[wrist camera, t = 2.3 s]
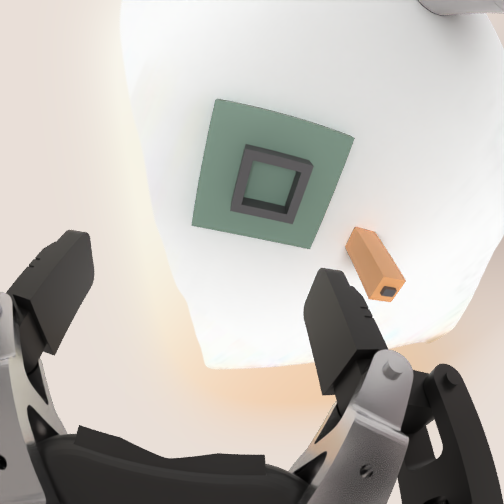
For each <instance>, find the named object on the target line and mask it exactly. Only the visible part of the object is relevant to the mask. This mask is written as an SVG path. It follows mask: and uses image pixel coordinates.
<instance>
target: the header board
mask: <svg viewBox="0 0 504 504" xmlns="http://www.w3.org/2000/svg"><path fill="white" fill-rule="evenodd" d="M353 141H354V138H353V137H352V136H350V135H347V134H345V133H342V132H339V131H336V130H333V129H331V128H328V127H325V126H322V125H319V124H316V123H313V122H309V121H306V120H303V119H300V118H296V117H293V116H289V115H286V114H282V113H278V112H275V111H271V110H267V109H263V108H259V107H255V106H250V105H246V104H241V103H236V102H231V101H226V100H221V99H216V100H215V104H214V109H213V113H212V118H211V122H210V127H209V131H208V136H207V141H206V146H205V151H204V156H203V161H202V166H201V172H200V177H199V183H198V189H197V194H196V200H195V206H194V213H193V219H192V226H196V227H202V228H207V229H212V230H217V231H222V232H227V233H233V234H238V235H243V236H248V237H253V238H258V239H263V240H268V241H273V242H278V243H282V244H287V245H292V246H297V247H302V248H307V249H310V247H311V245H312V243H313V241H314V238H315V236H316V234H317V231H318V229H319V227H320V224H321V222H322V220H323V217H324V215H325V212H326V210H327V208H328V205H329V203H330V200H331V198H332V195H333V193H334V190H335V188H336V185H337V183H338V180H339V178H340V175H341V173H342V170H343V168H344V165H345V162H346V160H347V157H348V154H349V152H350V149H351V146H352V144H353Z"/></svg>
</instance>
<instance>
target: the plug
mask: <svg viewBox="0 0 504 504" xmlns="http://www.w3.org/2000/svg"><path fill="white" fill-rule="evenodd" d="M345 248H346V250H347V252H348V254H349V256H350V258H351V260H352V262H353V265H354V267H355V269H356V271H357V273H358V275H359V278H360V280H361V282H362V284H363V287H364V289H365V291H366V293H367V296H368V298H369V299H372V300H379V301H387V302H391V301H392V300H393V299H394V297H395V296H396V294H397V293H398V292H399V290H400V289H401V287H402V286H403V284H404V283H405V281H406V280H405V279H404V277H403V275H402V274H401V272H400V270H399V269H398V267H397V265H396V264H395V262H394V261H393V259H392V257H391V256H390V254H389V253H388V251H387V249H386V248H385V246H384V245H383V243H382V242H381V240H380V239H379V237H378V236H377V234H376V233H375V232H373V231H369V230H366V229H362V228H358V227H355V228H354V230H353V232H352V234H351V236H350V238H349V240H348V242H347V244H346V246H345Z"/></svg>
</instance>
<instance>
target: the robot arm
mask: <svg viewBox="0 0 504 504" xmlns="http://www.w3.org/2000/svg"><path fill="white" fill-rule="evenodd" d="M418 1H419V2H420V3H421V4H422V5H423V6H424V7H426V8H427V9H428V10H430V11H432V12H433V13H436V14H438V15H443V16H444V15H455V14H471V13H504V0H418ZM93 280H94V265H93V259H92V250H91V242H90V236H89V234H88V233H86V232H80V231H74V230H68V231H66V232H65V233H64V234H63V235H62V236H61V237H60V239H58V241H57V242H54V243H52V244H50V245H49V246H47V247H46V248H44V249H43V250H42V251H41V252H40V253H39V254H38V255H37V257H36V259H34V260H33V261H32V262H31V263H30V264H29V267H27V268H26V269H25V270H24V271H23V273H22V274H21V275H20V276H19V277H18V278H17V280H16V281H15V282H14V283H13V285H12V286H11V287H10V288H9V290H8V291H7V293H3V292H0V504H386V503H387V501H388V499H389V497H390V494H391V492H392V489H393V487H394V484H395V482H396V479H397V477H398V482H399V488H400V493H401V499H402V504H503V499H502V494H501V489H500V484H499V480H498V476H497V472H496V468H495V465H494V461H493V457H492V454H491V451H490V448H489V445H488V442H487V439H486V436H485V433H484V430H483V427H482V424H481V422H480V419H479V417H478V414H477V411H476V409H475V407H474V404H473V402H472V400H471V397H470V395H469V392H468V390H467V388H466V386H465V383H464V381H463V379H462V377H461V375H460V374H459V373H458V371H457V370H456V369H454V368H453V367H451V366H450V365H447V364H439V365H438V366H436V367H435V369H434V370H433V371H432V372H431V373H430V374H428V373H424V372H419V371H415V370H413V369H412V367H411V365H410V363H409V362H408V360H407V359H406V358H405V357H404V356H402V355H401V354H400V353H398V352H396V351H393V350H388V348H387V346H386V343H385V341H384V339H383V337H382V335H381V333H380V331H379V328H378V326H377V324H376V322H375V320H374V318H372V314H371V312H370V310H369V309H368V306H367V304H366V302H365V300H364V298H363V296H362V295H361V294H360V293H359V292H358V291H357V290H356V289H355V288H354V287H353V286H350V285H349V283H348V281H347V279H346V277H345V275H344V273H343V272H342V271H339V270H332V269H325V268H321V269H319V271H318V272H317V275H316V277H315V280H314V282H313V285H312V287H311V289H310V292H309V294H308V297H307V299H306V302H305V305H304V321H305V324H306V328H307V332H308V336H309V340H310V345H311V349H312V353H313V357H314V361H315V365H316V369H317V374H318V378H319V382H320V387H321V391H322V395H335V396H336V399H337V401H336V402H335V403H334V404H333V406H332V408H331V410H330V411H329V413H328V415H327V417H326V418H325V420H324V422H323V424H322V425H321V427H320V429H319V430H318V432H317V434H316V435H315V437H314V439H313V440H312V442H311V443H310V445H309V446H308V448H307V449H306V450H305V452H304V453H303V454H302V455H301V456H300V457H299V458H298V460H297V461H296V462H295V463H294V464H293V466H292V467H291V469H290V470H289V471H286V470H283V469H281V468H279V467H275V466H272V465H269V464H265V455H238V454H218V453H217V454H211V455H203V456H195V457H185V458H173V459H169V458H164V457H161V456H159V455H156V454H154V453H152V452H149V451H147V450H145V449H143V448H141V447H138V446H136V445H134V444H132V443H130V442H128V441H126V440H124V439H122V438H120V437H116V436H113V435H109V434H106V433H102V432H99V431H96V430H92V429H89V428H86V427H83V426H80V425H79V427H78V431H77V434H67V432H66V430H65V428H64V426H63V424H62V422H61V421H60V419H59V417H58V415H57V413H56V411H55V409H54V406H53V402H52V399H51V396H50V393H49V389H48V385H47V381H46V377H45V373H44V369H43V364H42V361H41V359H40V356H41V354H42V352H43V351H44V352H46V353H49V354H52V355H55V354H56V352H57V350H58V348H59V345H60V343H61V341H62V339H63V337H64V335H65V333H66V331H67V330H68V328H69V326H70V324H71V322H72V320H73V318H74V316H75V314H76V313H77V311H78V309H79V307H80V305H81V304H82V302H83V300H84V298H85V296H86V294H87V293H88V291H89V290H90V288H91V286H92V284H93ZM434 419H435V421H436V425H437V428H438V430H439V434H440V437H441V440H442V444H443V451H442V454H441V455H440V457H439V458H438V459H436V458H435V456H434V452H433V448H432V445H431V441H430V438H429V435H428V431H427V428H426V425H427V424H429V423H430V422H431V421H433V420H434Z"/></svg>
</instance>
